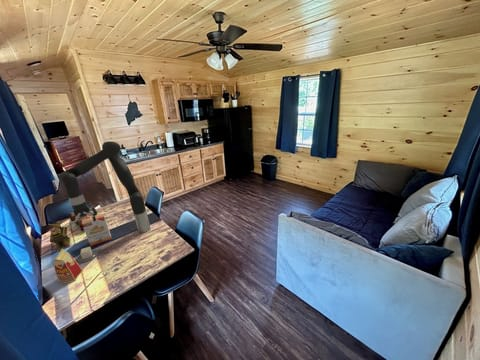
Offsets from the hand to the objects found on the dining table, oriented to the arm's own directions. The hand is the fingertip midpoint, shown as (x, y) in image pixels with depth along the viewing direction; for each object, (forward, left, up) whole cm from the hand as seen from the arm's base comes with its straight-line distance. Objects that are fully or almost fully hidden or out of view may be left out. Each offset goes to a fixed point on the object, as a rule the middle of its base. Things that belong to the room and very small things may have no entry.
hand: (87, 223), depth 135 cm
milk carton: (+13, +17, -25) cm, 33 cm away
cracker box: (-1, -15, -25) cm, 29 cm away
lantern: (+15, -51, -25) cm, 58 cm away
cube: (+6, 0, -24) cm, 25 cm away
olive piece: (+25, -24, -25) cm, 43 cm away
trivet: (+6, 0, -25) cm, 26 cm away
